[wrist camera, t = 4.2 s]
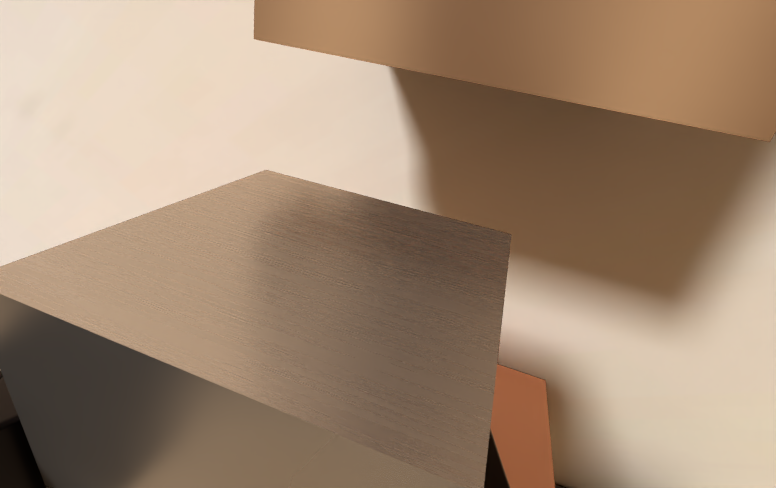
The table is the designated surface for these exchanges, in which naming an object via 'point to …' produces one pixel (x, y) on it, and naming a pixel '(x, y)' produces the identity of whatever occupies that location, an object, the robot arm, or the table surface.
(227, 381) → the support block
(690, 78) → the slab
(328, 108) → the table surface
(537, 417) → the end stop
